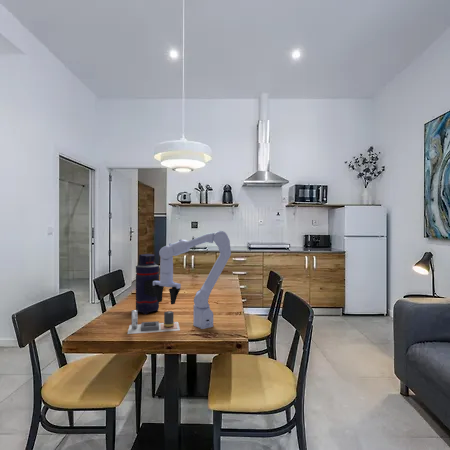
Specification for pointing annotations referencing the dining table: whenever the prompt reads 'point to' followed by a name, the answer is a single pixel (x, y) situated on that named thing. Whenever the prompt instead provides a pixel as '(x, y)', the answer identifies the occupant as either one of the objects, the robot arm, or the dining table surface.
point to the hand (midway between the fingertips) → (166, 302)
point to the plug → (168, 319)
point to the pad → (169, 328)
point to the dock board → (150, 328)
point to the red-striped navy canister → (146, 284)
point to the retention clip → (134, 319)
